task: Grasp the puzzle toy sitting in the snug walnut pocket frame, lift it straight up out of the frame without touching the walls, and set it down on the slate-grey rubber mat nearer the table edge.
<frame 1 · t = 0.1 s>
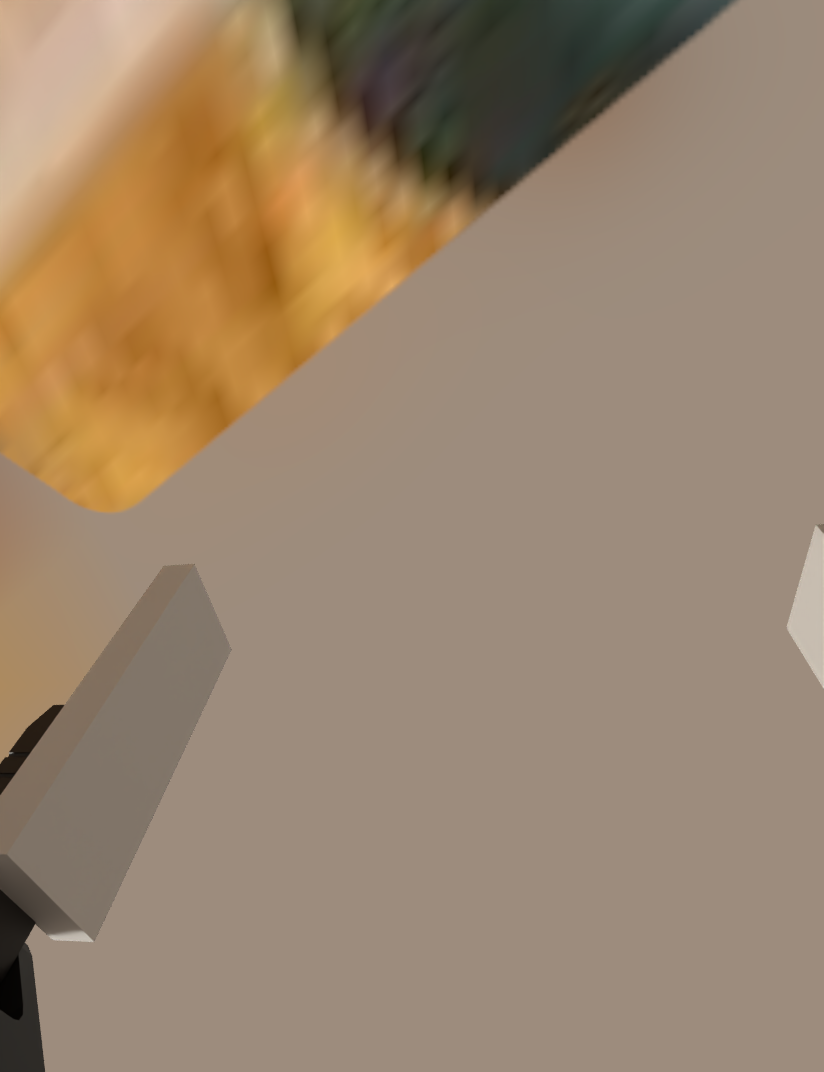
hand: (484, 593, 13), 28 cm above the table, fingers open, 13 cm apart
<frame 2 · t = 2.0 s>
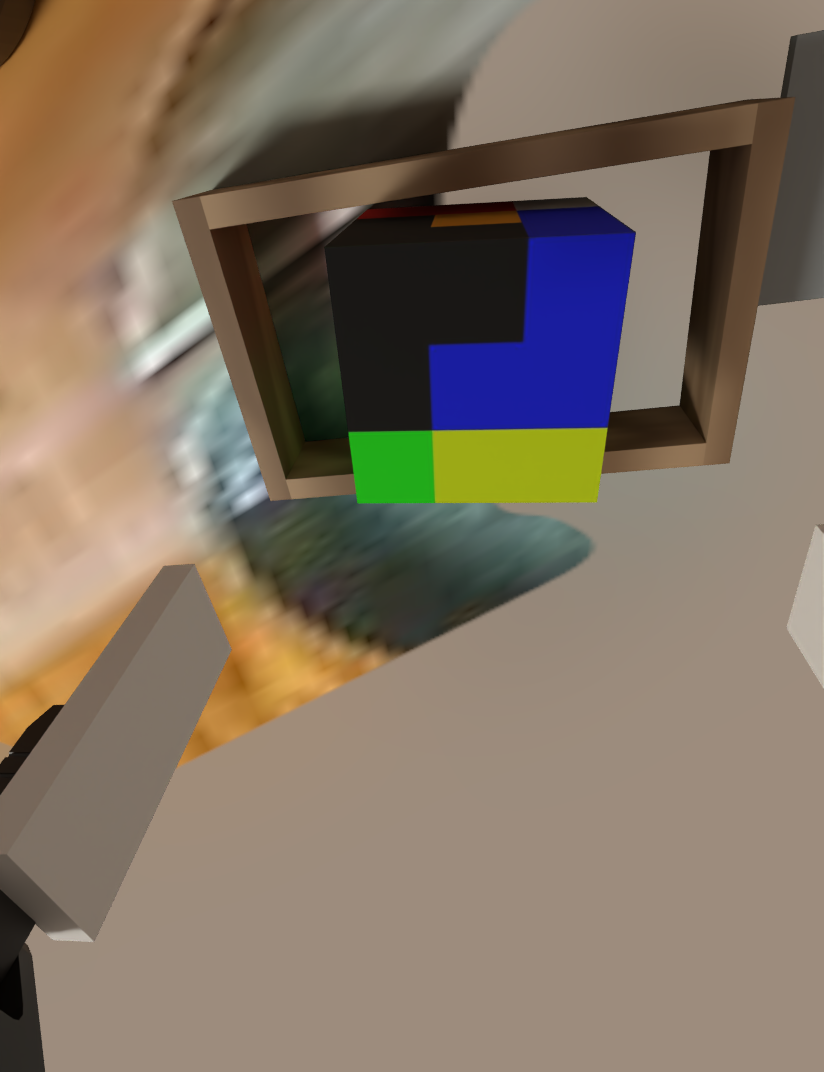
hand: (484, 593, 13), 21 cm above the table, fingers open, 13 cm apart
pocket frame: (474, 315, 30), on the table
puzzle toy: (474, 314, 30), resting in pocket frame
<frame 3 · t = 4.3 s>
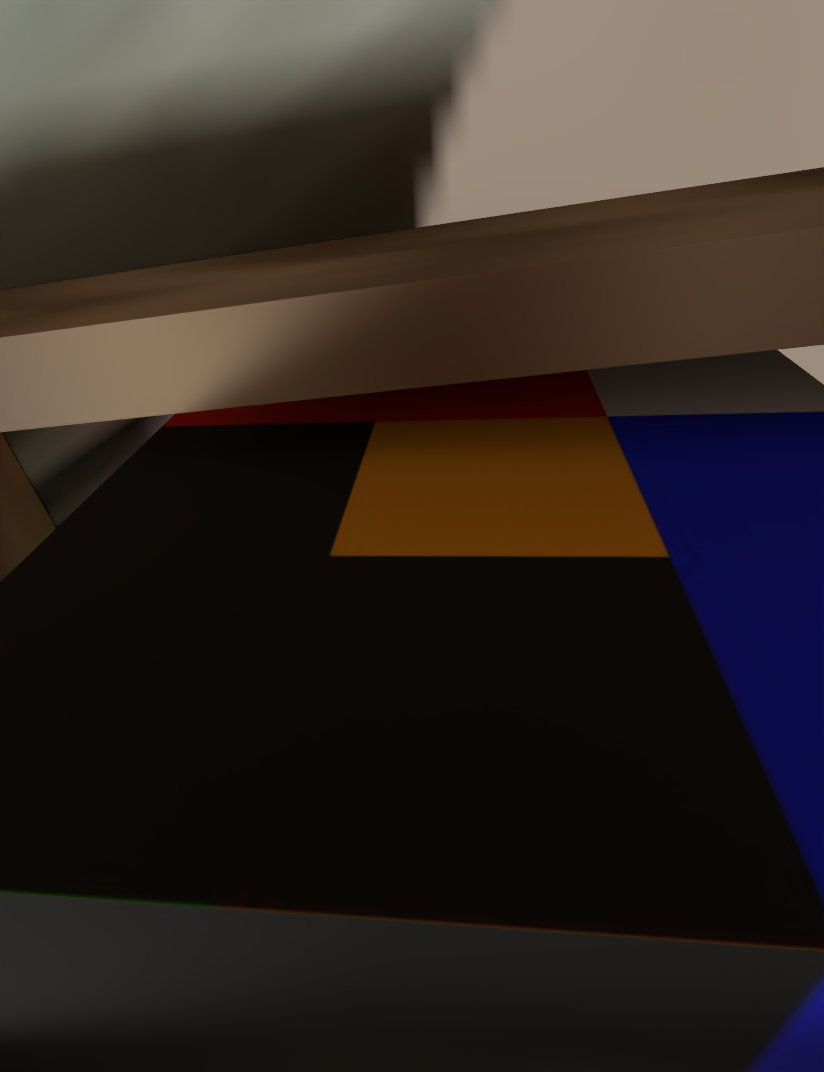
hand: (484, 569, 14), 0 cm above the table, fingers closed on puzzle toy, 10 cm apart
pocket frame: (482, 558, 14), on the table
puzzle toy: (483, 552, 14), resting in pocket frame, touching gripper
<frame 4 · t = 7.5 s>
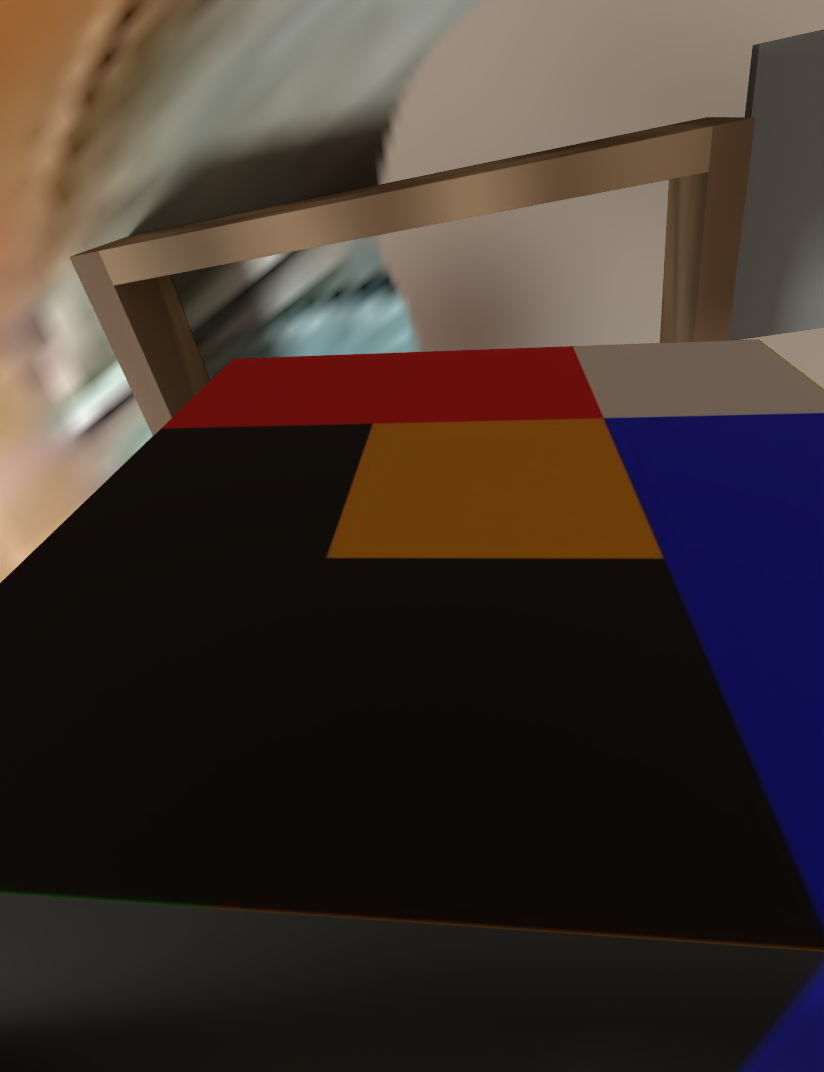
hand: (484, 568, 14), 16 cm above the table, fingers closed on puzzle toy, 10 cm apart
pocket frame: (423, 359, 27), on the table
puzzle toy: (482, 553, 14), point 16 cm above the table, touching gripper
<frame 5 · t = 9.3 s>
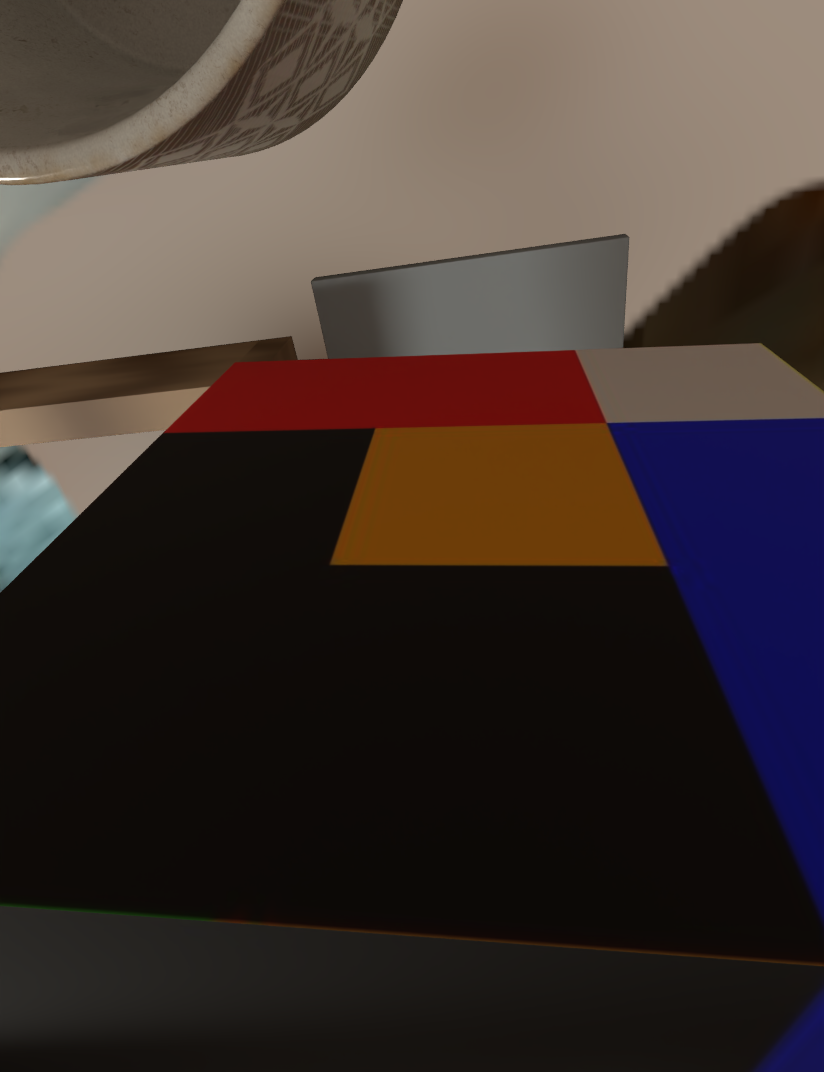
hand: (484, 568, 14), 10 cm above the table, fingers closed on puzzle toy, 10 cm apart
mat: (476, 402, 22), on the table
pocket frame: (85, 526, 27), on the table
puzzle toy: (484, 556, 14), point 9 cm above the table, touching gripper
when the fingers open (3 cm above the table, at t = 10.8 s): puzzle toy drops 2 cm, resting on mat.
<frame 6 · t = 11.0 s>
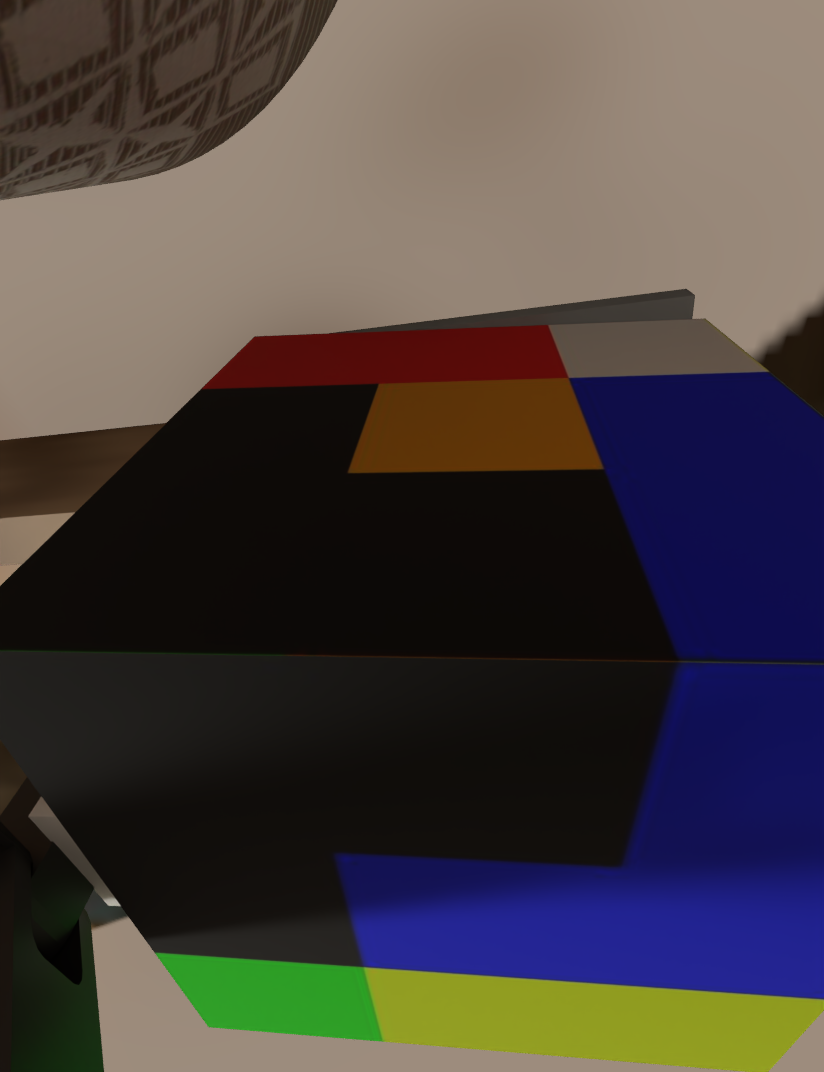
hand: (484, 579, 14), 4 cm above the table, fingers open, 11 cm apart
mat: (476, 501, 16), on the table
puzzle toy: (472, 512, 16), resting on mat
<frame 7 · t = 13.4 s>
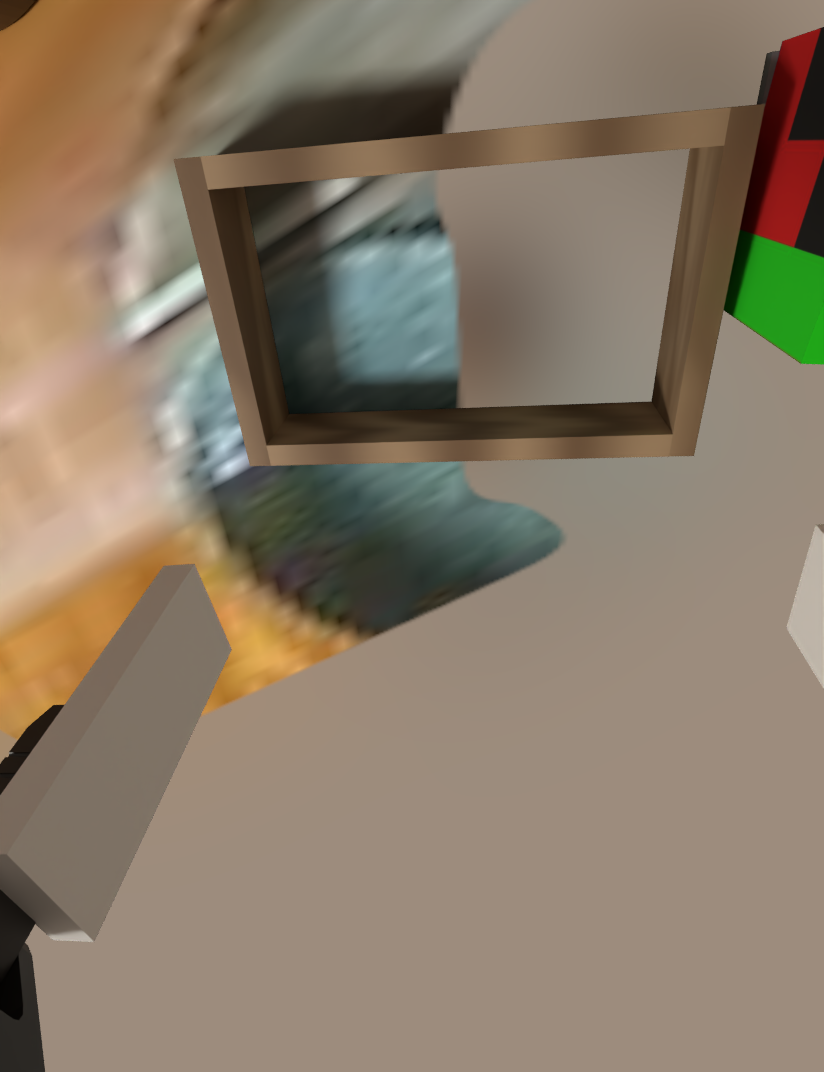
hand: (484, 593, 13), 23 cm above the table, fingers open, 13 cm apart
pocket frame: (460, 299, 31), on the table
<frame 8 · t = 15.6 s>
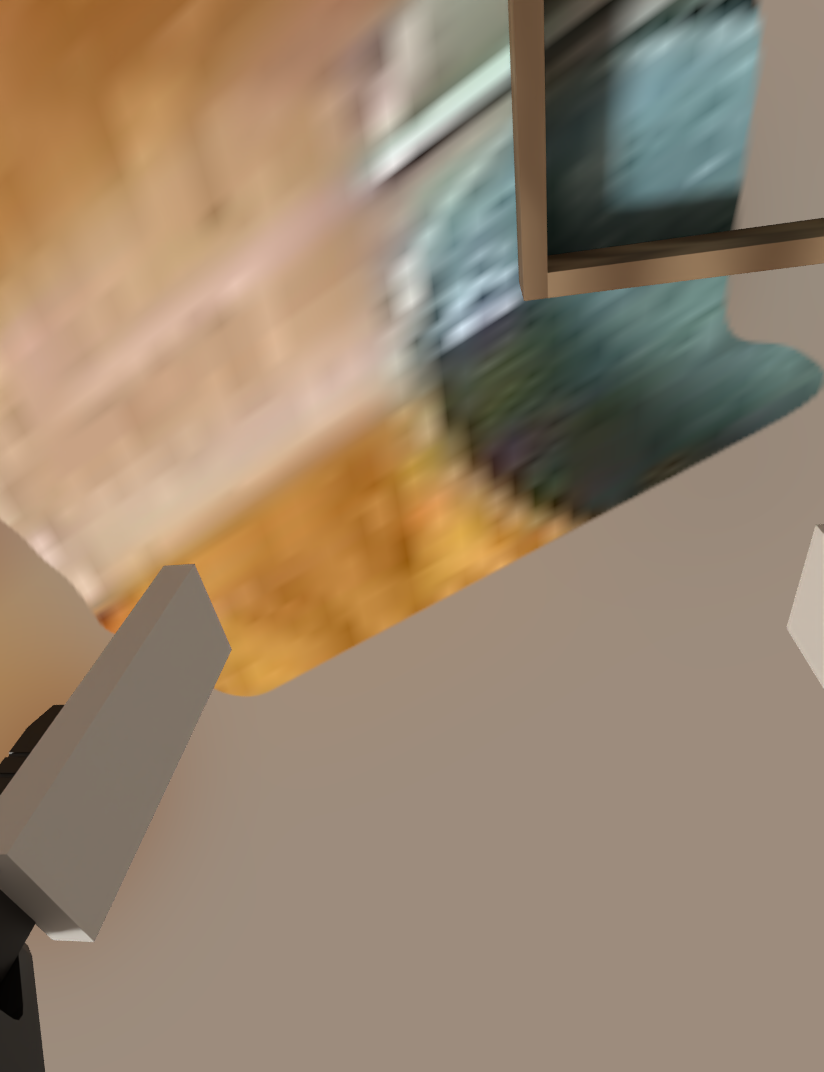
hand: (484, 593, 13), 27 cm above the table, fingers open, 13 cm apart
pocket frame: (759, 90, 28), on the table
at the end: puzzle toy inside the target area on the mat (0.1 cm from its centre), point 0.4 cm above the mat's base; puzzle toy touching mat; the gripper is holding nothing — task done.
